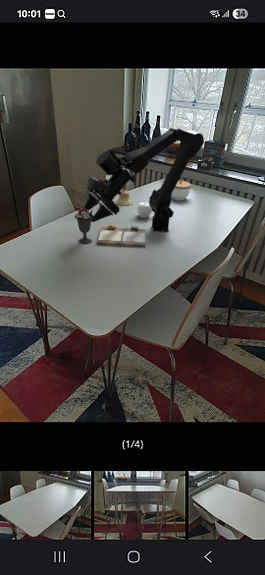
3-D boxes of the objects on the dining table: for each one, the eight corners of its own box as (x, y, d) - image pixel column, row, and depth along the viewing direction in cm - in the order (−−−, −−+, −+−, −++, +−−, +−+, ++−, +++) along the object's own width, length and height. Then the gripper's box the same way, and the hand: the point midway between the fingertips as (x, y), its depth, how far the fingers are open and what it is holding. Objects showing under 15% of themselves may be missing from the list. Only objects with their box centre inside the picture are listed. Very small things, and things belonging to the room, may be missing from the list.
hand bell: (112, 203, 155) (112, 169, 146) (121, 198, 161) (122, 166, 152) (127, 207, 152) (128, 173, 143) (135, 202, 158) (137, 169, 149)
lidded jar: (164, 196, 167) (166, 178, 162) (180, 194, 171) (183, 176, 166) (175, 203, 159) (178, 184, 154) (192, 200, 164) (195, 182, 158)
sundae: (72, 242, 119) (70, 203, 110) (83, 235, 124) (81, 198, 115) (87, 246, 117) (85, 207, 108) (97, 240, 121) (96, 202, 113)
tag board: (145, 231, 130) (145, 226, 129) (145, 247, 119) (145, 241, 117) (101, 228, 130) (101, 223, 129) (97, 244, 119) (97, 239, 117)
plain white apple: (133, 215, 143) (134, 198, 139) (145, 212, 147) (146, 195, 143) (143, 220, 139) (144, 203, 134) (155, 217, 143) (156, 200, 138)
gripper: (91, 161, 114) (63, 194, 116) (111, 176, 101) (80, 213, 103) (110, 182, 122) (84, 212, 124) (132, 197, 109) (102, 231, 111)
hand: (87, 216), depth 115 cm, fingers open, 9 cm apart
